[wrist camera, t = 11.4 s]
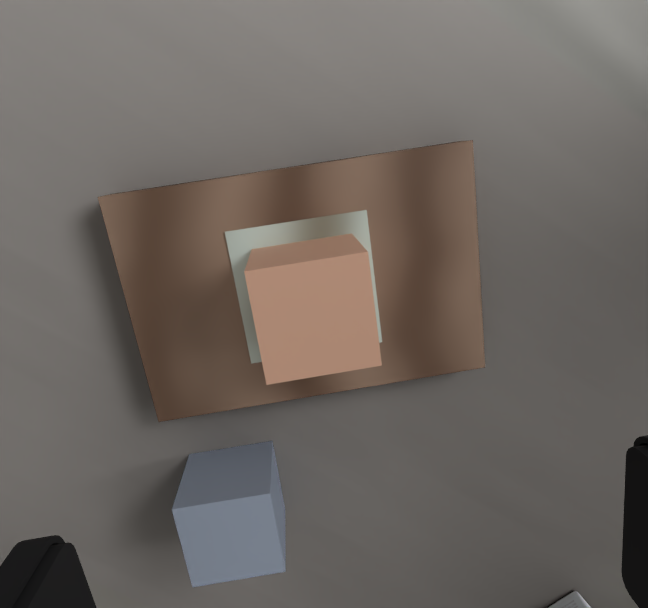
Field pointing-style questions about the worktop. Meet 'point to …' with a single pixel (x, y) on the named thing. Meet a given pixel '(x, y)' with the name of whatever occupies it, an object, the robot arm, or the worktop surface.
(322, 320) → the terracotta block
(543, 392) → the worktop surface
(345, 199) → the board
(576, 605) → the supplement box
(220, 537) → the slate block
